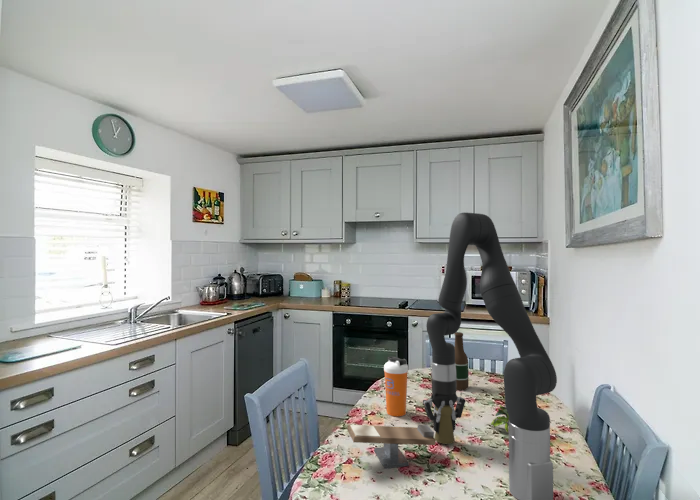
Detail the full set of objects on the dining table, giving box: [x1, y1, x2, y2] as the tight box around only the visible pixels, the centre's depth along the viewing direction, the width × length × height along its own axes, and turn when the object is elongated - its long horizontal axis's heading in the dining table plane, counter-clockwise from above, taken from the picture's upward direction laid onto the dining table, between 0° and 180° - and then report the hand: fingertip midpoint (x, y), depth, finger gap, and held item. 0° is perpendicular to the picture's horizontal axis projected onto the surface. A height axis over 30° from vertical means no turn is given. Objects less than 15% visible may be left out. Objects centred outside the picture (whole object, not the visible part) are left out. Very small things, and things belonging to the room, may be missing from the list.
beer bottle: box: [453, 331, 469, 391], centre depth 176 cm, size 8×8×24 cm
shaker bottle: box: [383, 356, 409, 418], centre depth 149 cm, size 9×9×20 cm
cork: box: [434, 405, 455, 445], centre depth 126 cm, size 6×6×11 cm
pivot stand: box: [373, 443, 410, 470], centre depth 116 cm, size 10×7×6 cm
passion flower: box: [490, 404, 509, 433], centre depth 133 cm, size 11×11×12 cm
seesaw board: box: [346, 424, 437, 446], centre depth 116 cm, size 24×8×3 cm, turn 103°
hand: (444, 431), depth 126 cm, fingers closed on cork, 4 cm apart
